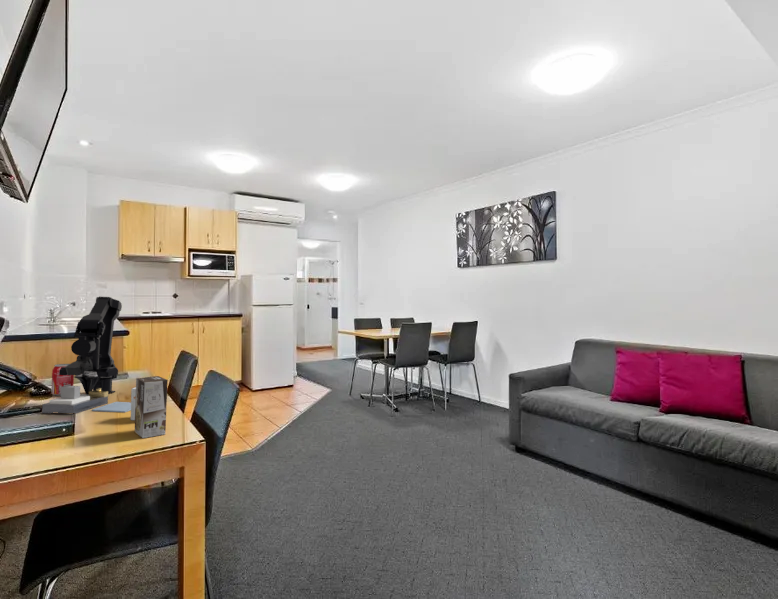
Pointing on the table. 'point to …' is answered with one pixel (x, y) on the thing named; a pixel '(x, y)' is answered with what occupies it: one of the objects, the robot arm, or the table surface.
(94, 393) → the pegged block
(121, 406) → the pad
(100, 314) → the robot arm
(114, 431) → the table surface
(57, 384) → the soda can
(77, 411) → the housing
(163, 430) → the coffee box
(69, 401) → the lid
